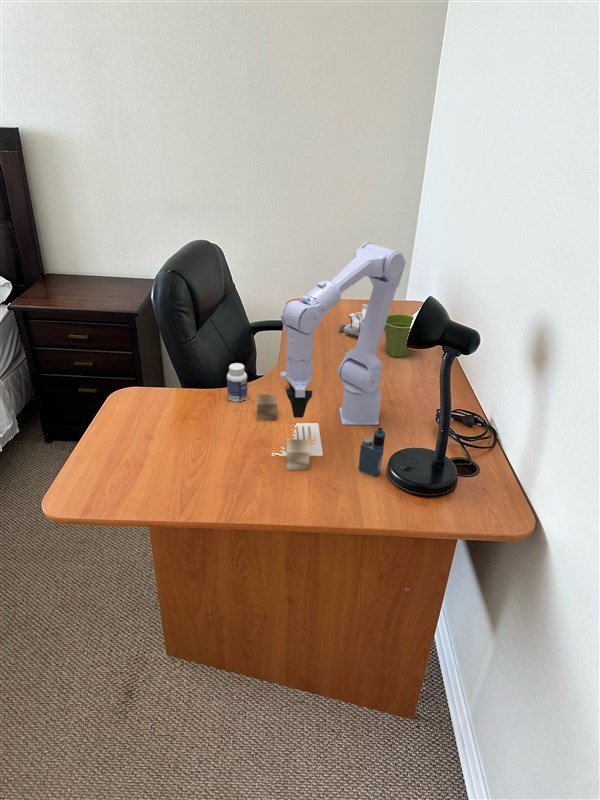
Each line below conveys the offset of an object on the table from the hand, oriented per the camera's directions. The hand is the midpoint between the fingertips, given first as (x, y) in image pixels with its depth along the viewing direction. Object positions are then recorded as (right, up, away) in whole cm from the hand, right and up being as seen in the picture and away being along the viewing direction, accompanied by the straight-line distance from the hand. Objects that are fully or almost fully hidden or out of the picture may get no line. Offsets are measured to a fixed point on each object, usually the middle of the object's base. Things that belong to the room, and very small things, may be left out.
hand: (297, 409), depth 129 cm
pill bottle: (-16, +2, +24) cm, 29 cm away
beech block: (0, -13, -1) cm, 12 cm away
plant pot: (+32, +17, +52) cm, 64 cm away
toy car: (+22, +25, +67) cm, 75 cm away
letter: (0, -7, +8) cm, 11 cm away
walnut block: (-8, -2, +17) cm, 19 cm away
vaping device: (+16, -14, -2) cm, 22 cm away
